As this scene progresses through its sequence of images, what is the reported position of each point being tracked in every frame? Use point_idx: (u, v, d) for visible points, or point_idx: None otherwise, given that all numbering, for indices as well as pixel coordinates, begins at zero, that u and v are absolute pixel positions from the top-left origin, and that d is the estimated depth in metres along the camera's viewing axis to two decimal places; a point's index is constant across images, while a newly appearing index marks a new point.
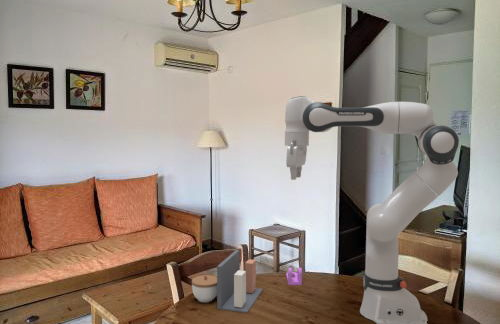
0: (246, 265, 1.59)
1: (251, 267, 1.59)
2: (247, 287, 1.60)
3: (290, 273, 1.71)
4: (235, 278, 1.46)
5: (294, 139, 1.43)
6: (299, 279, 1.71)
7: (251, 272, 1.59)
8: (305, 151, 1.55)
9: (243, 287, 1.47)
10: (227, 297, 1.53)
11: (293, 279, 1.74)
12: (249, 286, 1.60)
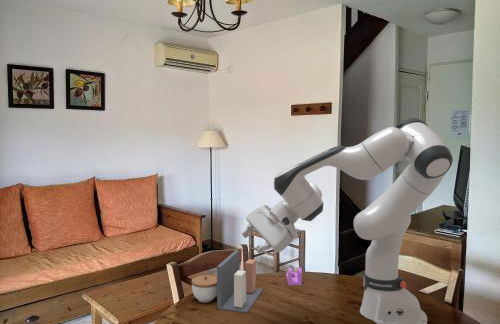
0: (246, 265, 1.59)
1: (251, 267, 1.59)
2: (247, 287, 1.60)
3: (290, 273, 1.71)
4: (235, 278, 1.46)
5: None
6: (299, 279, 1.71)
7: (251, 272, 1.59)
8: (282, 233, 1.29)
9: (243, 287, 1.47)
10: (227, 297, 1.53)
11: (293, 279, 1.74)
12: (249, 286, 1.60)
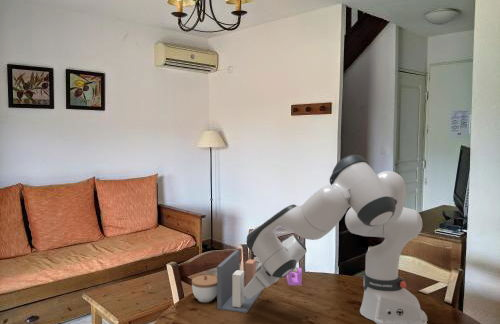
0: (246, 265, 1.59)
1: (251, 267, 1.59)
2: None
3: (290, 273, 1.70)
4: (233, 278, 1.46)
5: None
6: (299, 279, 1.71)
7: (251, 272, 1.59)
8: None
9: (241, 287, 1.48)
10: (227, 297, 1.53)
11: (293, 279, 1.74)
12: None
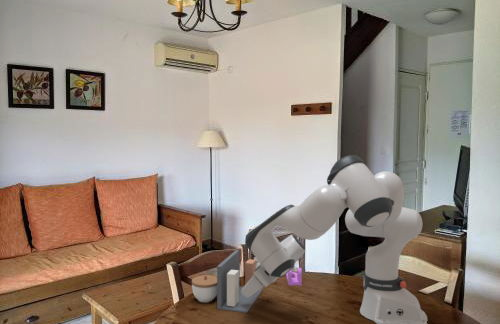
0: (246, 265, 1.59)
1: (251, 267, 1.59)
2: None
3: (290, 273, 1.70)
4: (228, 277, 1.47)
5: None
6: (299, 279, 1.71)
7: (251, 272, 1.59)
8: None
9: (236, 286, 1.48)
10: None
11: (293, 279, 1.74)
12: None
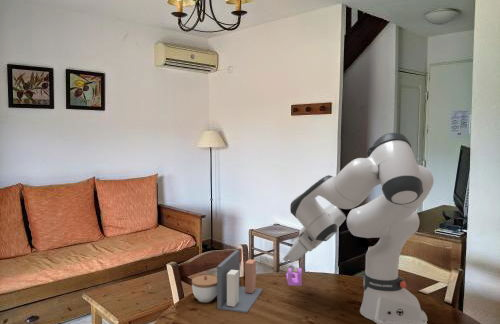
0: (246, 265, 1.59)
1: (251, 267, 1.59)
2: (247, 287, 1.60)
3: (290, 273, 1.70)
4: (228, 277, 1.47)
5: None
6: (299, 279, 1.70)
7: (251, 272, 1.59)
8: None
9: (236, 286, 1.48)
10: None
11: (293, 279, 1.74)
12: (249, 286, 1.60)
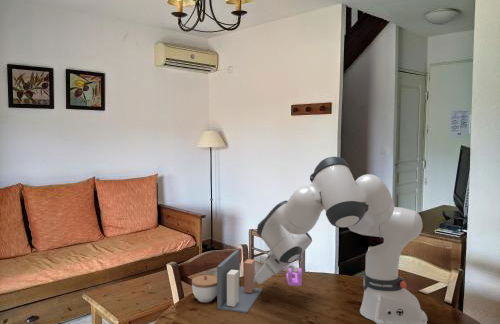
0: (245, 265, 1.60)
1: (250, 267, 1.59)
2: (246, 287, 1.60)
3: (290, 273, 1.70)
4: (228, 277, 1.47)
5: None
6: (299, 279, 1.70)
7: (250, 272, 1.59)
8: None
9: (236, 286, 1.48)
10: None
11: (293, 279, 1.74)
12: (248, 286, 1.60)
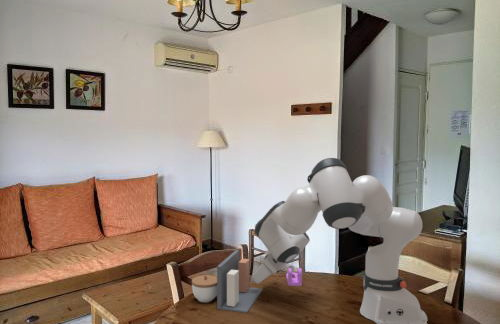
0: (239, 264, 1.60)
1: (244, 266, 1.60)
2: (240, 286, 1.61)
3: (290, 273, 1.70)
4: (228, 277, 1.47)
5: None
6: (299, 280, 1.70)
7: (244, 271, 1.60)
8: None
9: (236, 286, 1.48)
10: None
11: (293, 279, 1.73)
12: (242, 285, 1.60)
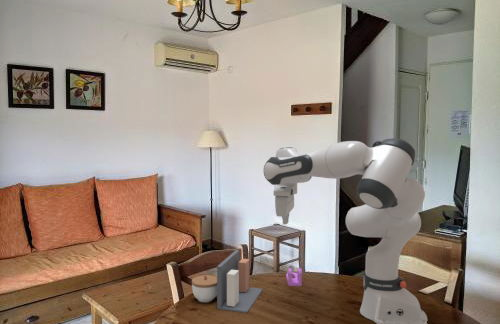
0: (239, 264, 1.60)
1: (244, 266, 1.60)
2: (240, 286, 1.61)
3: (290, 274, 1.70)
4: (228, 277, 1.47)
5: None
6: (299, 280, 1.70)
7: (244, 271, 1.60)
8: None
9: (236, 286, 1.48)
10: None
11: (293, 280, 1.73)
12: (242, 285, 1.60)
